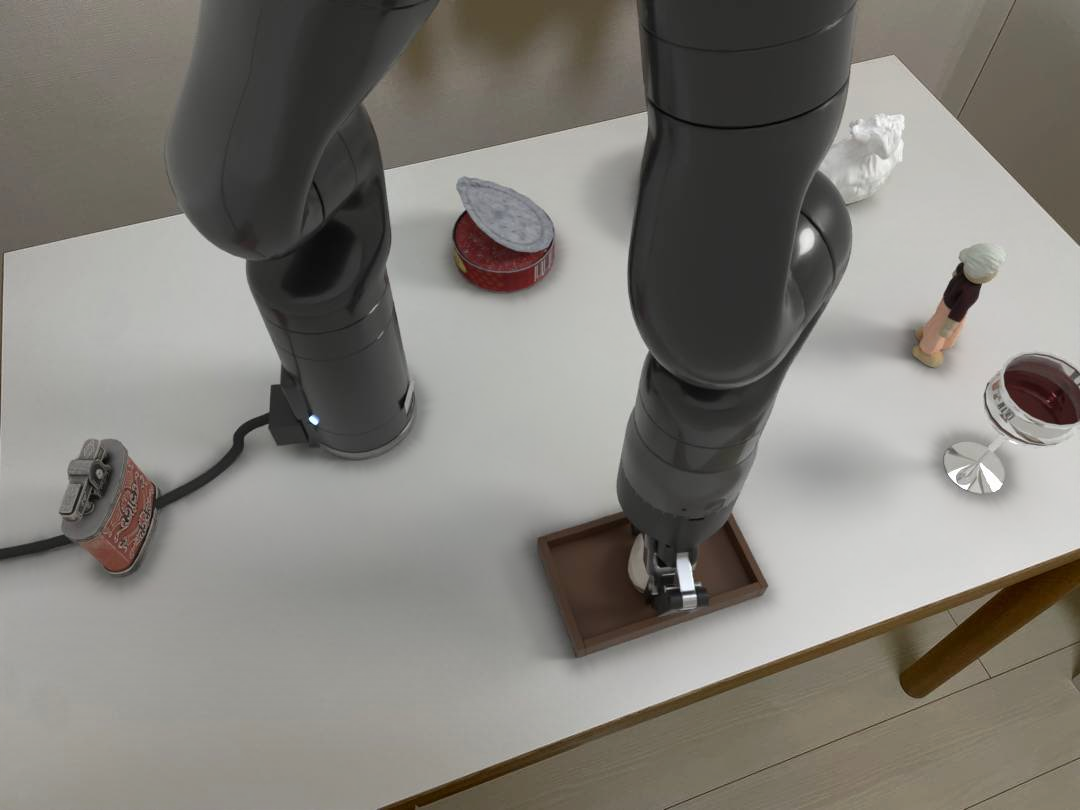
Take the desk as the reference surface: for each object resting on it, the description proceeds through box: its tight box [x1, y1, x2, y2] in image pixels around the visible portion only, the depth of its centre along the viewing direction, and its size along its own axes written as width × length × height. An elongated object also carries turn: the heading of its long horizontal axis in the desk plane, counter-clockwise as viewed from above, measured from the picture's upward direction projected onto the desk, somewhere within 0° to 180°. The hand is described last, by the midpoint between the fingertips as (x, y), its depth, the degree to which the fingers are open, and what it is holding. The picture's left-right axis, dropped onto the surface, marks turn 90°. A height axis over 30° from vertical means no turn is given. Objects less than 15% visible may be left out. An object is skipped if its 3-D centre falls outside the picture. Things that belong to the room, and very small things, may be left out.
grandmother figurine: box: [911, 242, 1008, 368], centre depth 73 cm, size 8×4×13 cm, turn 168°
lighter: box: [57, 437, 162, 579], centre depth 63 cm, size 8×3×10 cm, turn 178°
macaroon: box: [628, 533, 675, 593], centre depth 64 cm, size 4×5×2 cm
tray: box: [536, 510, 769, 659], centre depth 65 cm, size 15×9×2 cm, turn 109°
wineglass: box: [943, 350, 1080, 495], centre depth 66 cm, size 7×7×12 cm
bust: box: [818, 112, 906, 205], centre depth 84 cm, size 12×8×11 cm
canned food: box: [451, 176, 556, 294], centre depth 81 cm, size 11×10×10 cm
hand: (651, 564), depth 65 cm, fingers closed on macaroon, 5 cm apart
